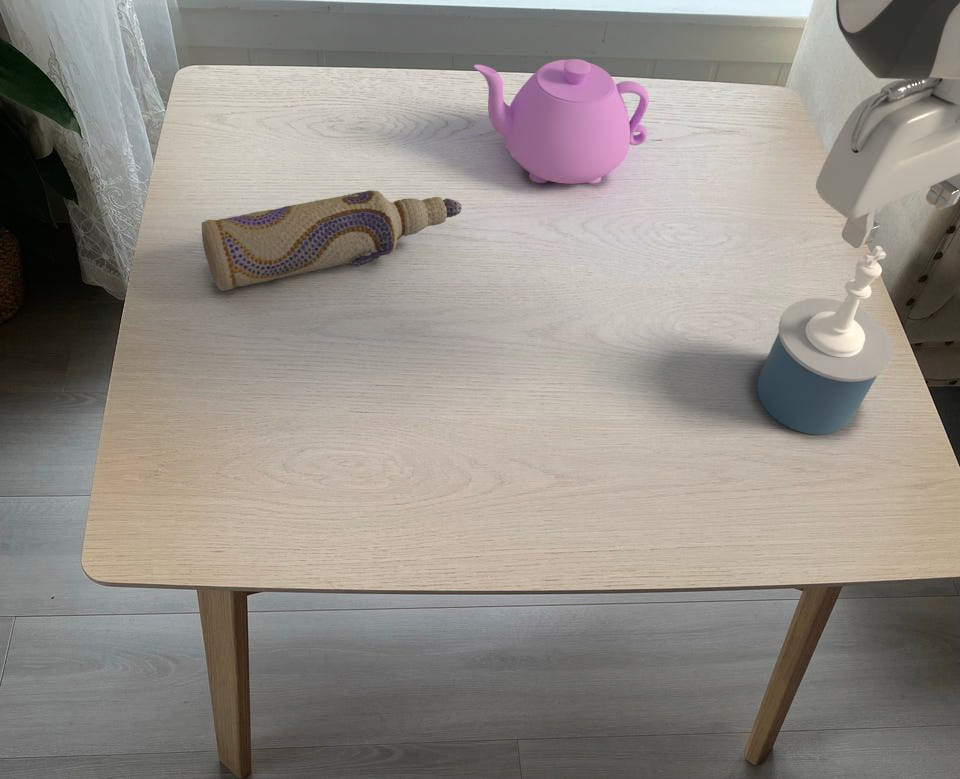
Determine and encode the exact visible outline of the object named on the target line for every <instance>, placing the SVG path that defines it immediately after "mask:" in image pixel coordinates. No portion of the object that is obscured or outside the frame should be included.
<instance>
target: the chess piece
mask: <svg viewBox="0 0 960 779" xmlns="http://www.w3.org/2000/svg"><path fill="white" fill-rule="evenodd" d="M886 256H887V253H886V252H885V250H884V248H882V247H881V245H876V246H874V248H873V250H872V252H868V253H865V254H864V256H863V258H860V259H858V261H857V262H856V263H855V270H854V271H855V272H854V273H855V275H854V278H852V279H849V280H848V281H846V283H845V284H844V290H845V292H846V293H847V296H846V297H845V298H844V300H843V301H842V302H843V303H842V305H841V306H840V307H839V309H838V310H837V311H836V312H831V311H826V312H821V313H818V314H816V315H814V316H813V317H812V318H811V319H810V321H809V322H808V323H807V325H806V336H807V338H808V340H809V341H810V343H811V344H812V345H813V346H814V347H815V348H817V349H818V350H820V351H821V352H823V353H825V354H828V355H831V356H834V357H851V356H854V355H856V354H858V353H859V352H860V351H861V350H862V348H863V344H864V341H865V334H864V331H863V329H862V328H861V326H860V325H859V324H858V323H857V322H856V321H855V320H853V319H854V316H855V313H856V310H857V308H859V304H860V301H861V300H865V299H868V298H870V297H871V295H872V287H871V286H870V284H872V283H873V281H875V280H876V279H877V278H878V277H879V276H880V275H881V274H882V271H883V269H882V266H881V264H880V263H879V262H878V260H884V259H885V258H886Z"/></svg>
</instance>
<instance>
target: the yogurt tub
mask: <svg viewBox="0 0 960 779" xmlns="http://www.w3.org/2000/svg"><path fill="white" fill-rule="evenodd" d="M843 302H844V301H842V300H838V299H834V298H828V297H827V298H826V297H813V298H806V299H802V300H799V301H796V302H795V303H793V304H791V305H790V306H789V307H787V308H786V309H785V311H784V312H783V313H782V315H781V317H780V319H779V323H778V333H777V335H776V337H775V340H774V342H773V344H772V346H771V348H770V351H769V352H768V355H767V358H766V360H765V362H764V364H763V367H762V369H761V372H760V374H759V376H758V378H757V381H756V391H757V392H756V393H757V396H758V400H759V402H760V404H761V405H762V407H763V408H764V409H765V411H766V412H767V413H768V414H769V415H770V416H771V417H772V418H773V419H775V421H777V422H778V423H780V424H782V425H783V426H785V427H787V428H789V429H791V430H793V431H795V432H799V433H803V434H808V435H814V436H815V435H816V436H817V435H818V436H820V435H821V436H822V435H823V436H825V435H829V434H834V433H837V432H839V431H841V430H843V429H844V428H846V427H848V425H850V423H851V421H852V420H853V418H854V417H855V415H856V413H857V411H859V409H860V406H861V405H862V403H863V401H864V399H865V398H866V396H867V394H868V393H869V391H870V389H871V388H872V386H873V384H874V383H875V381H876V379H877V377H878V376H879V375H880V374H882V373H883V372H884V371H885V370H886V369H887V367H888V366H889V364H890V362H891V360H892V356H893V346H892V342H891V341H892V340H891V339H890V336H889V334H888V333H887V331H886V330H885V328H884V327H883V325H882V324H881V323H880V322H879V321H877V319H875V317H874V316H871V314H869V313H868V312H866V311H865V310H863V309H861V308H859V307H857V310H856V313H855V316H854V319H853V320H855V321H856V322H857V323H858V324H859V325H860V326H861V328H862V329H863V331H864V334H865V341H864V344H863V348H862V350H861V351H860V352H859V353H858V354H856V355H854V356H851V357H834V356H831V355H828V354H825V353H823V352H821V351H820V350H818V349H817V348H815V347H814V346H813V345H812V344H811V343H810V341H809V340H808V338H807V336H806V325H807V323H808V322H809V321H810V319H811V318H812V317H813V316H814V315H816V314H818V313H821V312H826V311H831V312H836V311H837V310H838V309H839V307H840V306H841V305H842V303H843Z"/></svg>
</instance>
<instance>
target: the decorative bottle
mask: <svg viewBox="0 0 960 779" xmlns="http://www.w3.org/2000/svg"><path fill="white" fill-rule="evenodd" d="M462 208H463V207H462V204H461V203H460V202H459V201H458V200H454V199H451V198H447V197H446V198H444V199H443V198H442V197H440V196H433V197H431V198H430V197H428V198H424V199H418V198H410V197H409V198H401V199H397V200H395V201H392V202H391V201H390V200H389V199H387V198H386V196H384V195H383V194H382V193H381V191H379V190H372V189H369V190H366V191H360V192H354V193H348V194H344V195H339V196H335V197H334V196H333V197H330V198H324V199H318V200H314V201H308V202H303V203H299V204H293V205H285V206H282V207H279V208H274V209H268V210H267V209H266V210H261V211H254V212H250V213H246V214H241V215H238V216H237V215H236V216H231V217H227V218H226V217H225V218H220V219H208V220H205V221H202V222H201V225H200V226H201V239H202V240H201V241H202V245H203V251H204V254H205V257H206V261H207V264H208V269H209V271H210V275H211V276H212V279H213V281H214V283H215V286H216V288H218V290H219V291H221V292H222V291H223V292H225V291H230V290H232V289H234V288H238V287H243V286H245V287H246V286H250V285H253V284H254V285H255V284H259V283H260V284H261V283H264V282H265V283H266V282H269V281H273V280H276V279H284V278H287V277H290V276H296V275H300V274H305V273H309V272H315V271H317V270H318V271H319V270H323V269H327V268H332V267H336V266H341V265H346V264H351V265H352V266H357V267H361V266H363V265H366V264H368V263H370V262H372V261H373V260H375V259H379V258H380V257H382V256H383V257H384V256H388V255H390V254H391V253H393V252H394V251H395V249H396V247H397V243H398V240H399V239H400V238H401V237H403V236H404V237H407V236H411V235H415V234H417V233H419V232H422V231H423V230H424V229H426V228H427V227H430V226H432V227H434V226H437V225H441V224H443V223H444V224H445V222H446V220H447V218H453V217H456V216H458V215H460V213H461V211H462Z"/></svg>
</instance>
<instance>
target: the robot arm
mask: <svg viewBox="0 0 960 779" xmlns="http://www.w3.org/2000/svg"><path fill="white" fill-rule="evenodd" d="M835 14H836V21H837V25H838V28H839V31H840V32H841V35H842V36H843V37H844V40H845V41H846V42H847V44H848V46H849V48H850V49H851V50H852V51H853V53H854V54H855V56H856V57H857V58H858V59H859V61H861V63H862V64H863V65H864V66H865V67H866V68H867V70H868V71H870V73H871V74H872V75H873V76H874V77H875V78H877V79H888V80H889V79H890V80H891V79H893V80H894V81H890V82H889V83H887V84H885V85H884V86H883V87H882V88H881V89H880V92H877V93H874V94H872V95H870V96H868V97H866V98H865V99H864V100H862V101H861V102H860V103H859V104H858V105H856V107H855V108H854V109H853V110H852V112H851V113H850V114H849V116H848V117H847V119H846V121H845V122H844V124H843V125H842V127H841V130H840V131H839V133H838V135H837V136H836V139H835V141H834V143H833V144H832V145H831V148H830V151H829V152H828V154H827V156H826V158H825V161H824V162H823V165H822V167H821V169H820V171H819V173H818V175H817V178H816V180H815V190H816V193H817V195H818V197H819V198H820V199H821V200H822V201H823V202H824V203H826V204H827V205H828V206H830V207H831V208H832V209H833V210H835V211H836V212H838V213H839V214H840V215H842V216H843V217H844V218H846V222H845V224H844V226H843V227H842V228H843V229H842V231H841V237H842V239H843V241H845V242H846V243H847V244H849V245H850V246H851V247H853V248H854V249H859V248H861V247H862V246H864V245H866V244H868V243H871V242H873V241H874V238H875V235H876V234H877V233H878V231H879V229H880V227H881V225H880V224H879V223H877V222H876V221H875V215H877V214H879V213H881V211H882V209H883V208H884V207H886V206H889V205H890V204H893V203H895V202H897V201H900V200H902V199H904V198H907V197H909V196H911V195H914V194H916V193H919V192H920V191H923V190H925V189H928V188H929V190H928V192H927V193H926V195H925V200H926V202H927V203H928V204H930V205H932V206H934V208H935V209H937V210H940V211H941V210H944V209H947V208H949V207H951V206H953V205H956V204H957V203H958V201H959V199H960V0H835Z"/></svg>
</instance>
